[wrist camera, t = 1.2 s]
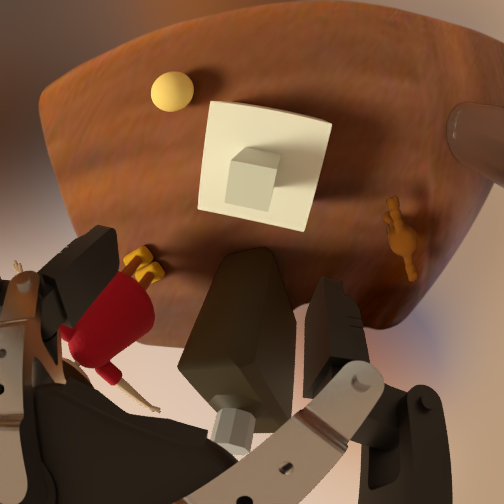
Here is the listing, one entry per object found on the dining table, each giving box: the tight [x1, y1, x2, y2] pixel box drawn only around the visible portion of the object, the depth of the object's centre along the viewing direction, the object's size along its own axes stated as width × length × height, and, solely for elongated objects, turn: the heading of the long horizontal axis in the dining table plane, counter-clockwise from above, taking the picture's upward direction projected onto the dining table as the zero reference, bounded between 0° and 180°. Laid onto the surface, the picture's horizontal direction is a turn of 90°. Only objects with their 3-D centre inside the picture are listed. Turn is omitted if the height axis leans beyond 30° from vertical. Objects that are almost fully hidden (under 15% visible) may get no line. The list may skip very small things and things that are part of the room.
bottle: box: [177, 247, 296, 455], centre depth 32 cm, size 8×16×25 cm, turn 20°
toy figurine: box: [383, 196, 418, 282], centre depth 30 cm, size 12×4×7 cm, turn 30°
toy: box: [13, 246, 165, 413], centre depth 30 cm, size 27×11×30 cm, turn 30°
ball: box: [151, 71, 194, 112], centre depth 26 cm, size 5×5×5 cm
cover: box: [198, 101, 332, 232], centre depth 25 cm, size 11×11×15 cm
